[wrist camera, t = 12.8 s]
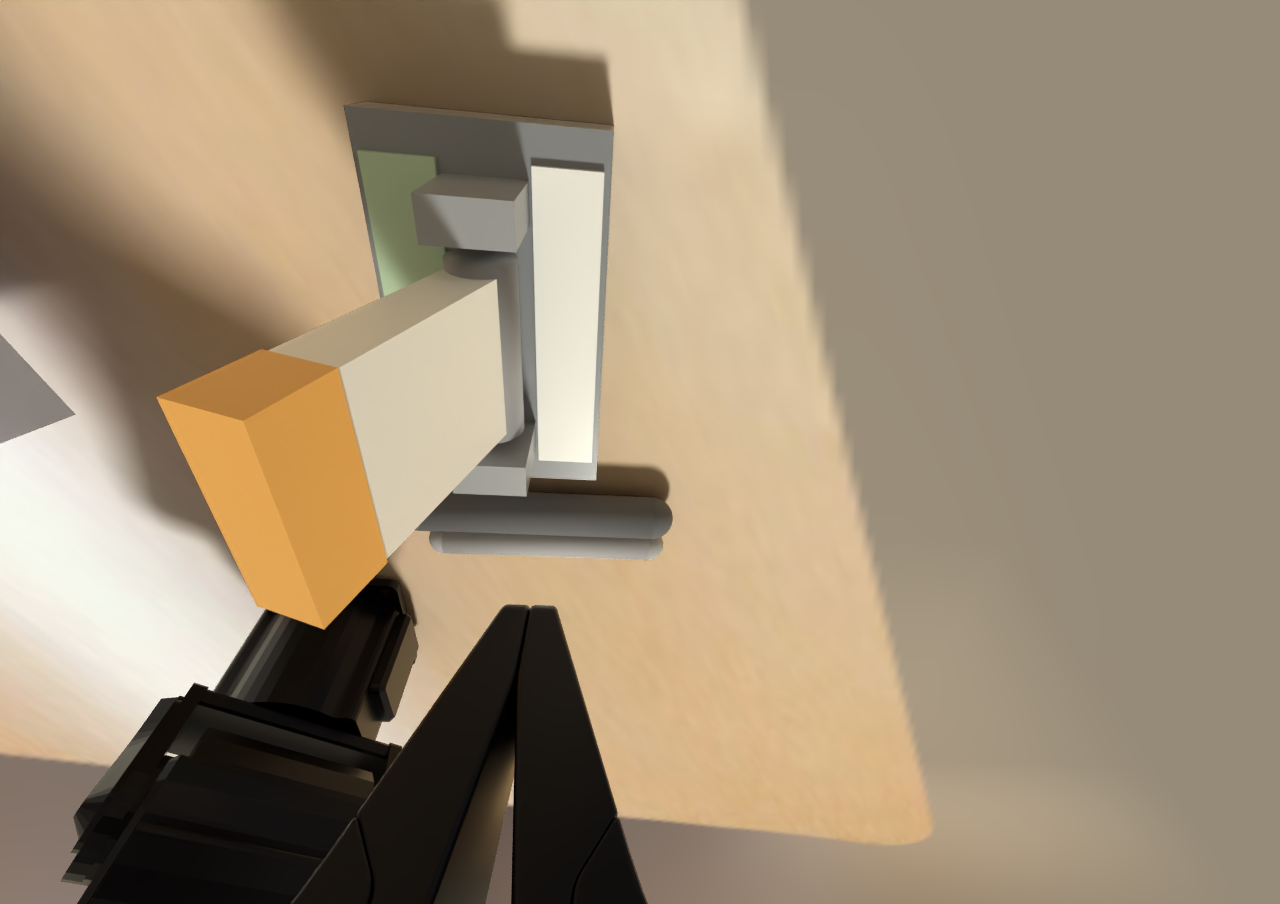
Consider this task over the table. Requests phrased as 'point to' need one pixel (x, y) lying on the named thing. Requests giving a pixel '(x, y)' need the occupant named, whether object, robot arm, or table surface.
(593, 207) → the panel
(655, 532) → the grey double capsule
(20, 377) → the wedge on round base
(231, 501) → the lever
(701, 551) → the table surface
